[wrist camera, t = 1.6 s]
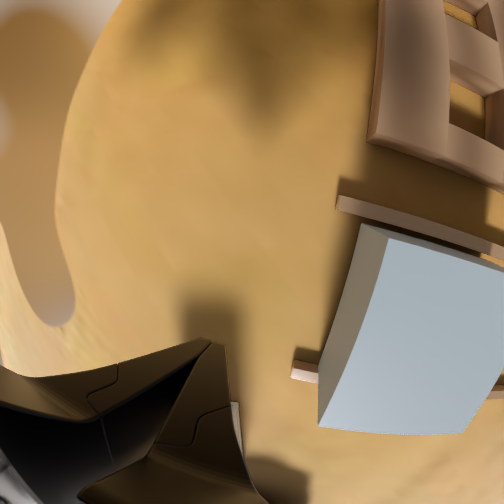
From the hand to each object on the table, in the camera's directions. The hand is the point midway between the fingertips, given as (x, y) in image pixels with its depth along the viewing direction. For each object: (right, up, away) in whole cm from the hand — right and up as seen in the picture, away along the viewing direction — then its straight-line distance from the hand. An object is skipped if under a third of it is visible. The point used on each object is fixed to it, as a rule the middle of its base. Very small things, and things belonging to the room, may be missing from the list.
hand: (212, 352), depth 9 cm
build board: (+15, +16, +3) cm, 22 cm away
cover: (+11, 0, +7) cm, 13 cm away
